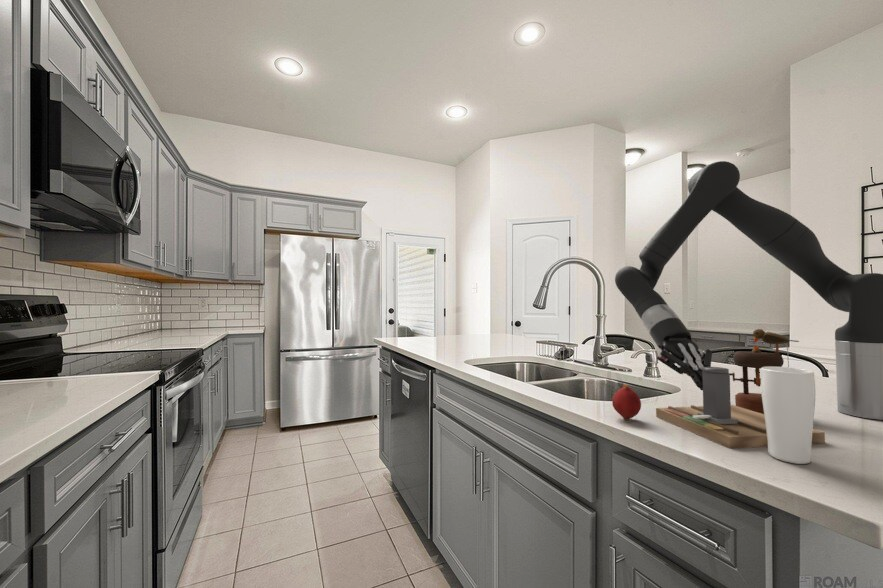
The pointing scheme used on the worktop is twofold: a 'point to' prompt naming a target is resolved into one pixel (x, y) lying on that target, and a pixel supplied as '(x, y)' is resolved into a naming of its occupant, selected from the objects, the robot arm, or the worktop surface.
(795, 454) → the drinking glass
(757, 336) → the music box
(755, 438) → the board
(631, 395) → the onion
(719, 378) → the peg slider
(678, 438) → the worktop surface
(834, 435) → the worktop surface
